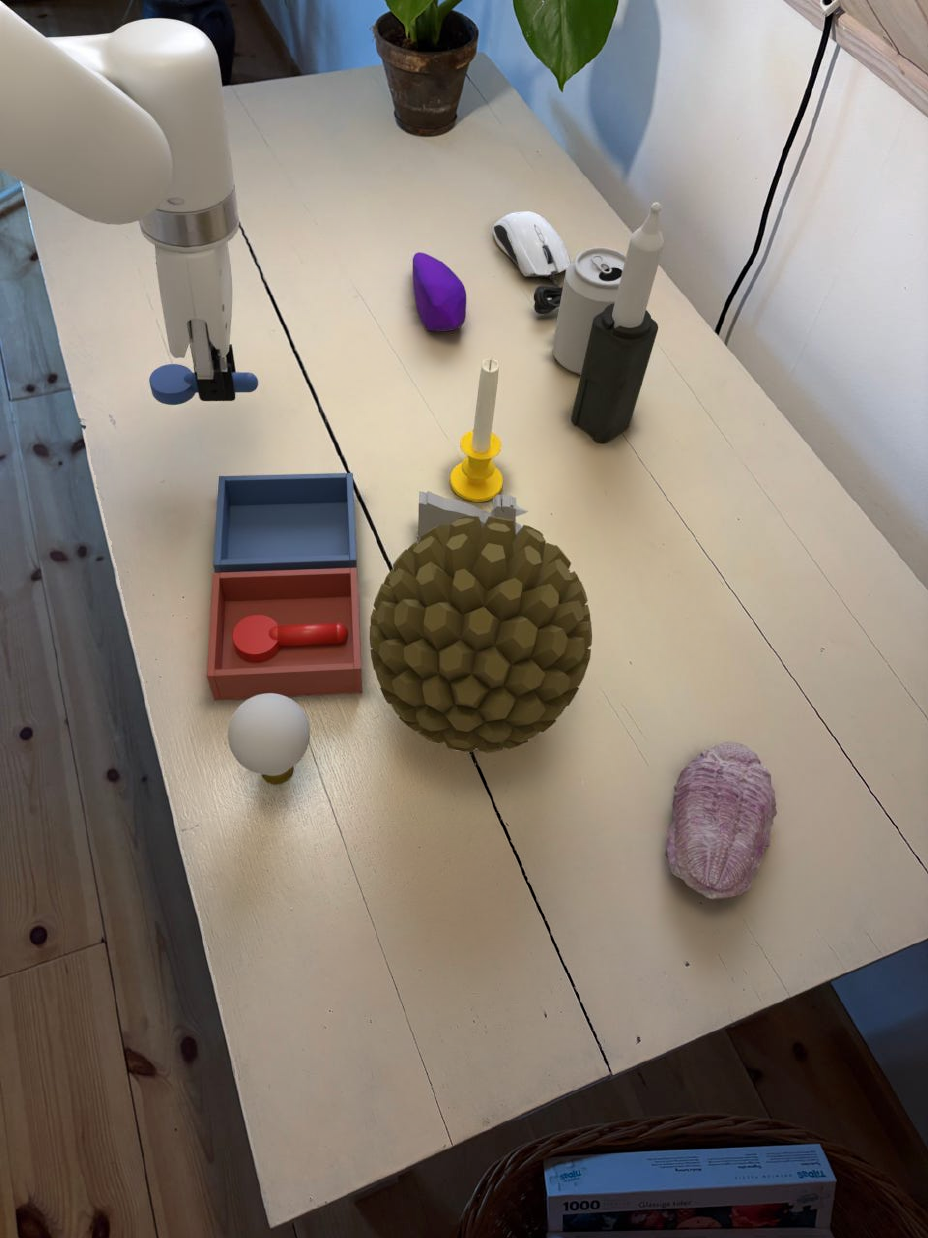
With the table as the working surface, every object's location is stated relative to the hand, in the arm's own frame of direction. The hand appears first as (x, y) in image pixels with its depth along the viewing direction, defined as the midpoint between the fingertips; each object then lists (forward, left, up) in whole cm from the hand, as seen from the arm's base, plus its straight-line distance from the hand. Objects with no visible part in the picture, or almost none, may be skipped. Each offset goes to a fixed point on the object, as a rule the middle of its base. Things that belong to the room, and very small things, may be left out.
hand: (218, 388), depth 87 cm
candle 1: (+24, -6, -8) cm, 26 cm away
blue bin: (+6, -13, -8) cm, 16 cm away
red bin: (+6, -24, -7) cm, 26 cm away
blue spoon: (-1, 0, 0) cm, 1 cm away
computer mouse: (+35, +28, -8) cm, 46 cm away
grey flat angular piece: (+23, -13, -8) cm, 27 cm away
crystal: (+22, +21, -8) cm, 32 cm away
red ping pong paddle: (+6, -24, -7) cm, 25 cm away
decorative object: (+21, -30, -8) cm, 37 cm away
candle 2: (+38, +2, -8) cm, 39 cm away
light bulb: (+5, -36, -8) cm, 37 cm away
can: (+38, +12, -8) cm, 41 cm away
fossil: (+39, -43, -8) cm, 58 cm away
